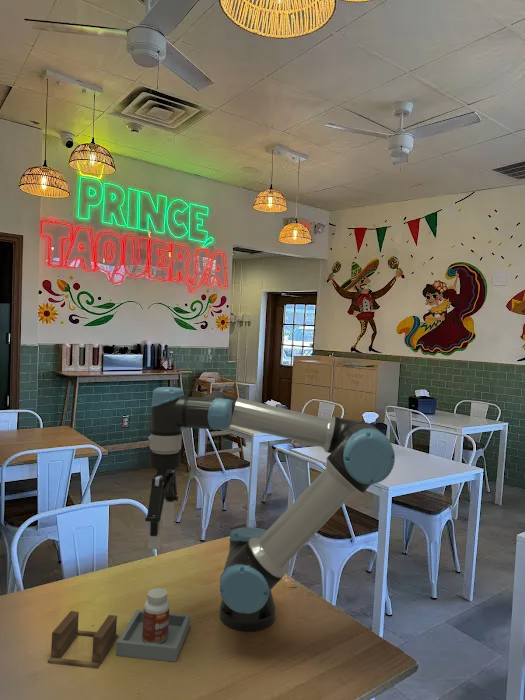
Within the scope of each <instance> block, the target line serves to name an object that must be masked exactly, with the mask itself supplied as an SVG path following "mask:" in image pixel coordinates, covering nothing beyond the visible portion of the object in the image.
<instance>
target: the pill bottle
mask: <svg viewBox="0 0 525 700" xmlns="http://www.w3.org/2000/svg"><path fill="white" fill-rule="evenodd" d="M146 597H147V600H146V601H145V602H144V604H143V610H144V614H143V632H142V638H143V640H144V642H146V643H155V644H160V643H162V642H164V641H165V640H166V639H167V637H168V625H169V613H170V607H171V606H170V602H169V599H168V591H167V590H166V589H165V588H159V587H158V588H157V587H156V588H152V589H150V590H148V591H147V595H146Z"/></svg>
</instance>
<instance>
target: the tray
mask: <svg viewBox="0 0 525 700" xmlns="http://www.w3.org/2000/svg"><path fill="white" fill-rule="evenodd" d="M143 614H144V609H136V611H135V612H134V613H133V616H132V617H131V619H130V620H129V622H128V623H127V625H126V627H125V628H124V630H123V631H122V633H121V635H120V636H119V637H118V638H117V639H118V640H117V641H116V647H115V651H116V652H115V655H116V657H126V658H136V659H145V660H153V661H154V660H155V661H162V662H164V661H165V662H173V663H176V662H177V659H178V656H180V655H179V654H180V652H181V649H182V647H183V645H184V643H185V640H186V637H187V635H188V632H189V630H190V626H191V615H190V614H184V613H183V614H182V613H174V612H169V625H168V637H167V639H166V640H165V641H164V642H162V643H160V644H155V643H146V642H144V640H143V638H142V632H143Z"/></svg>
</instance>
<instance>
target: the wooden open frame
mask: <svg viewBox="0 0 525 700" xmlns="http://www.w3.org/2000/svg"><path fill="white" fill-rule="evenodd" d="M79 613H80V611H74V610H71V611H69V612H68V614H67V615H66V616H65V617H64V618H63V619H62V620H61V622H59V624H58V625H57V626H56V627H55V628H54V630H53V631H52V632H51V645H50V646H51V647H50V657H49V658H48V659H47V663H48V664H54V665H65V666H73V667H82V668H83V667H84V668H91V669H99V667H100V665H102V663H103V661H104V659H105V658H106V657H107V655H108V653H109V652H110V650H111V649H112V647H113V645H114V643H115V642H117V641H116V640H117V639H119V634H118V633H117V628H118V627H117V624H118V622H117V621H118V616H117V615H114V614H109V615H108V616H107V617H106V619H105V620H104V621H103V623H102V624H101V625H100V627H99V628H98V629H97V631H91V630H90V631H89V630H81V629H79V615H80V614H79ZM78 636H83V637H91V638H92V653H91V654H92V656H91V657H92V658H91V661H87V660H78V659H68V658H62V657H63V656H64V655H65V653H66V652H67V650H68V649H69V648H70V646H71V645H72V644H73V643H74V642H75V640H76V639H77V638H78Z"/></svg>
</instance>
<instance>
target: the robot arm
mask: <svg viewBox="0 0 525 700" xmlns="http://www.w3.org/2000/svg"><path fill="white" fill-rule="evenodd" d="M150 408H151V409H150V436H149V435H148V437H147V439H148V440H149V441H150V442H149V449H150V450H151V451H150V452H149V457H148V459H149V460H148V466H149V468H151V469H154V470H156V474H155V475H154V476H152V478H151V487H150V488H151V489H150V494H149V499H148V500H149V502H148V508H147V514H146V517H145V519H144V520H145V522H148V538H147V539H148V540H147V541H148V542H147V544H148V545H147V549H149V550H160V549H161V541H162V538H161V537H162V528H174V526H175V509H176V508H175V506H176V505H175V504H176V503H175V502H178V500H179V496H177V495H178V489H177V488H178V486H177V477H176V476H177V475H176V469H178V468H179V467H180V466H181V460H182V459H181V457H182V456H181V455H182V454H181V453H182V452H181V451H180V450H181V449H182V439H183V438H182V434H183V433H182V431H183V430H182V429H183V428H187V429H199V430H202V429H203V430H213V431H218V430H219V431H220V430H221V431H222V430H228V429H230V427H231V426H235V427H239V428H242V429H243V428H244V429H248V430H251V431H255V432H260V433H263V434H267V435H270V436H271V435H272V436H274V437H275V436H276V437H279V438H284V439H287V440H290V441H291V440H292V441H295V442H300V443H304V444H308V445H312V446H314V447H315V446H316V447H321V448H322V449H323V450H324V451H325V453H327V454H329V455H328V456H327V457H326V466H325V469H324V470H323V471H322V472H321V473H320V474H319V475H318V476H317V477H316V478H315V479H314V480H313V482H311V484H310V485H308V487H307V488H306V489H305V490H304V491H303V492H302V493H301V494H300V495H299V496H298V497H297V498H296V499H295V500H294V501H293V502H292V503H291V504H290V506H289V507H288V508H287V509H286V510H285V511H284V512H283V513H282V514H281V515H280V516H279V517H278V518H277V520H275V521H274V522H273V524H272V525H270V526H269V528H268V529H265V528H264V529H263V528H261V527H252V526H251V527H250V526H249V527H248V526H247V527H238V528H235V529H233V530H232V531H231V532H230V534H229V535H230V536H229V539H228V540H229V546H228V547H229V549H228V550H229V551H228V555H227V557H226V560H225V563H224V564H225V565H224V567H223V572H222V574H220V577H219V592H220V597H221V598H222V599H221V602H220V604H219V613H218V614H219V619H220V621H221V622H222V623H223V624H224V625H226V626H227V627H229V628H232V629H235V630H237V631H243V632H244V631H245V632H255V631H261V630H263V629H266V628H269V627H270V626H271V625H272V624H273V623H274V622H275V620H276V612H277V611H276V609H277V608H276V605H275V600H274V596H273V592H272V589H273V588H274V587H276V585H277V584H278V583H279V582H280V581H281V580H282V579H283V578H284V577H285V574H286V573H285V571H286V570H285V569H286V568H285V567H286V565H287V563H289V562H290V561H291V560H292V559H293V558H294V557H295V556H296V554H298V552H299V551H300V550H301V549H302V548H303V547H304V546H305V545H306V544H307V543H308V542H309V541H310V540H311V539H312V538H313V537H314V535H315V534H316V533H318V531H319V530H320V529H321V528H323V526H325V524H326V523H327V522H328V521H329V520H330V518H332V517H333V515H335V513H337V512H338V511H339V509H341V507H342V506H343V505H344V504H345V503H346V502H347V501H348V500H349V499H350V497H352V496H353V495H354V494H355V495H356V494H357V495H363V494H364V493H365V492H366V491H367V490H368V489H369V487H371V486H372V485H374V484H378V483H380V482H383V481H384V480H386V479H387V478H388V477H389V476H390V474H391V473H392V471H393V468H394V466H395V459H396V457H395V456H396V455H395V451H394V450H395V449H394V448H393V445H392V442H391V441H390V439H389V438H388V437H387V436H386V434H384V433H383V432H382V431H381V430H379V429H378V428H377V426H375V425H374V424H371V423H369V422H366V421H361V420H352V419H347V418H342V417H337V416H331V417H330V418H325V417H320V416H316V415H312V414H308V413H304V412H299V411H296V410H290V409H287V408H283V407H278V406H275V405H271V404H266V403H261V402H258V401H254V400H251V399H250V400H249V399H244V398H241V397H236V396H233V395H228V394H227V393H225V392H222V391H218V390H217V391H212V392H210V393H208V394H207V395H205V396H204V397H201V396H199V397H194V396H185V394H184V390H183V388H181V387H173V386H161V387H159V386H158V387H155V389H154V390H152V398H151V405H150ZM162 512H163V515H162ZM162 516H163V517H162ZM161 517H162V519H161Z"/></svg>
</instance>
